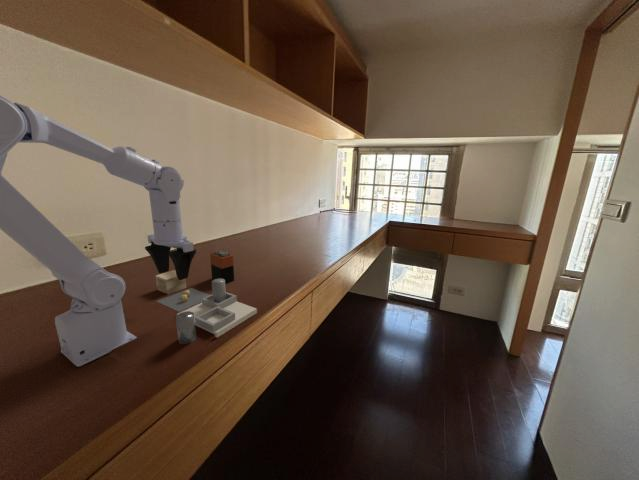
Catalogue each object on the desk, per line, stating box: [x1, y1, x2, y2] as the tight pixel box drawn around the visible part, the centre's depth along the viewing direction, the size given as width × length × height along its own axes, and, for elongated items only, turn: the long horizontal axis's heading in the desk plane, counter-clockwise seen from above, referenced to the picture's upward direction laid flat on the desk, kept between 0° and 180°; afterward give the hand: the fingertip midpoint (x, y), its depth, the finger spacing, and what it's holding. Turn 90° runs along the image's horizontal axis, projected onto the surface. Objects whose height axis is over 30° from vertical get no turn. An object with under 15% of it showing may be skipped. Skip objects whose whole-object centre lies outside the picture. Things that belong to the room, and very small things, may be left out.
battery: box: [209, 249, 235, 284], centre depth 81 cm, size 4×7×10 cm, turn 50°
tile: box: [156, 287, 210, 313], centre depth 69 cm, size 10×10×2 cm
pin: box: [175, 311, 197, 345], centre depth 52 cm, size 3×3×6 cm
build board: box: [176, 279, 258, 338], centre depth 61 cm, size 12×14×7 cm
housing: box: [155, 269, 187, 296], centre depth 74 cm, size 5×5×5 cm
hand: (173, 275), depth 62 cm, fingers open, 7 cm apart
